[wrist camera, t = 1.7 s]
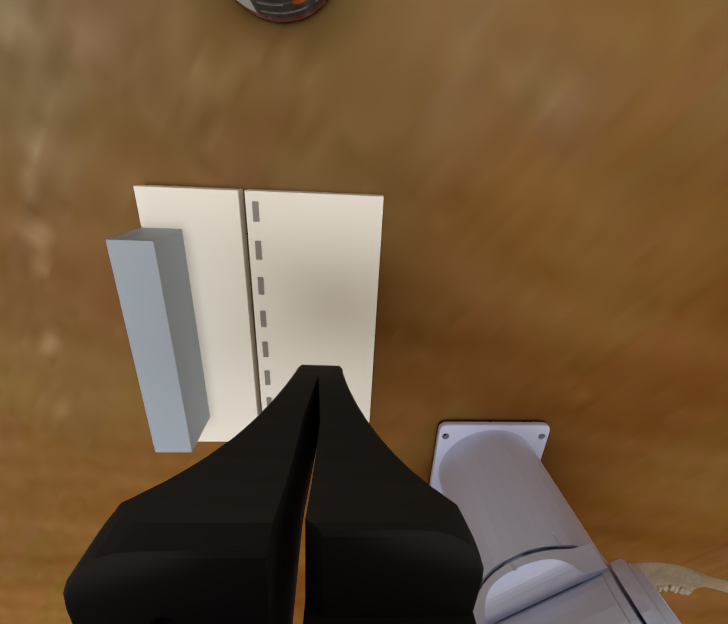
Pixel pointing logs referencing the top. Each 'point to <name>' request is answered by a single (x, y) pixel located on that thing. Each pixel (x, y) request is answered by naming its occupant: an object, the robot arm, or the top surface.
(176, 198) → the stub
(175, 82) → the top surface
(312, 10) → the supplement bottle
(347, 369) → the ticket
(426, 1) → the top surface
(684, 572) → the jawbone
